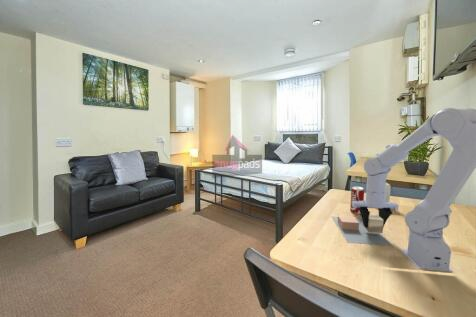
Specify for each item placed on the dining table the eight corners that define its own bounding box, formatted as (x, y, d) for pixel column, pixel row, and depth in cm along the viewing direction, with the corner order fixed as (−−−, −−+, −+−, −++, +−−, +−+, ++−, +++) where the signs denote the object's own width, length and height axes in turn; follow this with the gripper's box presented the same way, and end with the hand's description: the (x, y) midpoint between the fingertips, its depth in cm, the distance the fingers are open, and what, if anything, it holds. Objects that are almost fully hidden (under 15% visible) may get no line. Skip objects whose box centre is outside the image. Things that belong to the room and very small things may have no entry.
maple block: (382, 233, 74) (383, 219, 74) (368, 232, 75) (369, 219, 75) (376, 227, 79) (377, 214, 78) (363, 226, 80) (364, 214, 79)
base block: (358, 230, 80) (359, 222, 80) (341, 229, 81) (342, 221, 81) (353, 223, 86) (353, 216, 85) (337, 222, 87) (337, 215, 87)
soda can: (364, 214, 95) (366, 189, 94) (352, 214, 96) (353, 189, 95) (360, 210, 100) (361, 186, 99) (348, 210, 102) (350, 186, 100)
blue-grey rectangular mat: (392, 247, 69) (393, 245, 69) (347, 243, 72) (347, 242, 72) (365, 219, 90) (365, 218, 90) (331, 217, 93) (331, 216, 93)
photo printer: (390, 206, 106) (392, 182, 104) (386, 207, 104) (388, 183, 102) (370, 200, 115) (371, 178, 113) (365, 201, 113) (366, 179, 111)
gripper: (392, 188, 78) (389, 223, 79) (350, 187, 80) (348, 221, 82) (403, 194, 71) (399, 232, 73) (356, 192, 74) (354, 229, 75)
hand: (373, 226), depth 77 cm, fingers closed on maple block, 4 cm apart
